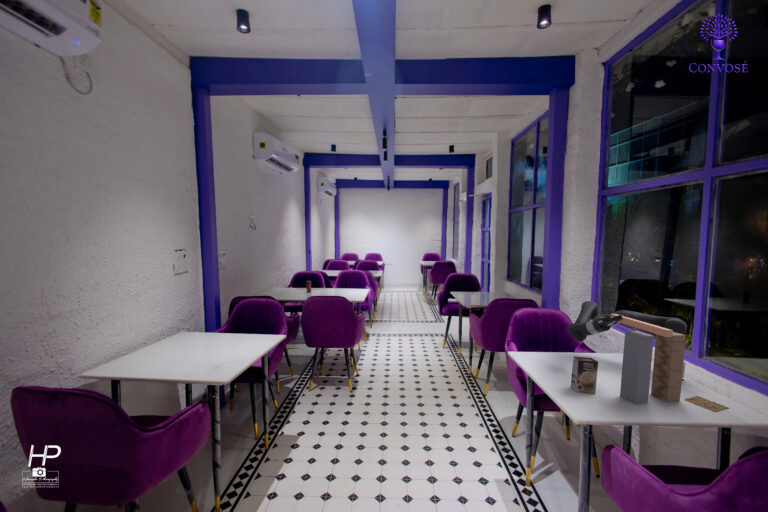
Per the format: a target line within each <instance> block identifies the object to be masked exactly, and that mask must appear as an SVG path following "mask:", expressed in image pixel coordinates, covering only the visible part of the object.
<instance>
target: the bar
mask: <svg viewBox="0 0 768 512" xmlns="http://www.w3.org/2000/svg"><path fill="white" fill-rule="evenodd" d="M610 314H611V313H610ZM615 316H618V314H611V316H610V317H615ZM622 318H623V319H622V320H619V321H616V322H619V323H623V324H626V325H629V326H628V327H631V326H632V328H636V329H639V330H642V331H645V332H648V333H652V334H654V335H656V334H658V335H661V336H664V337H672V331H673V330H670V329H667V328H663V327H660V326H656V325H653V324H649V323H646V322H642V321H639V320H635V319H632V318H628V317H625V316H622Z"/></svg>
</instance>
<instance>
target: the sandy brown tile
mask: <svg viewBox="0 0 768 512" xmlns="http://www.w3.org/2000/svg"><path fill="white" fill-rule="evenodd" d="M683 401H685V402H686V403H687V402H688V403H690V404H693V405H695V406H698V407H700V408H703V409H706V410H707V411H710V410H711V412H713V413H719V412H721V411H724V410H729V409H730V407H728V406H726V405H723V404H720V403H717V402H715V401H713V400H709V399H706V398H705V397H703V396H698V395H696V396H693V397H689V398H684V399H683Z"/></svg>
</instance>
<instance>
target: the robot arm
mask: <svg viewBox="0 0 768 512" xmlns="http://www.w3.org/2000/svg"><path fill="white" fill-rule="evenodd" d="M580 306H581V308H580V312H579V314H578V316H577V318H576V320H575V321H574V323H573V322H572V323H571V324H569V325H568V326H567V328H566V330H567V332H568V333H569V335H570V336H571V337H572V338H573V339H574V340H575V341H576V342H579V343H580V342H584V341H585V340H586V339H587V337H588V336H592V335H595V334H600V333H604V332H608V331H610V329H611V327H614V326H615V325H622V326H626V327H632V326H629V325H626V324H623V323H619V322H616V321H619V320H622V319H623V318H622V316H625V317H628V318H632V319H635V320H639V321H642V322H646V323H649V324H653V325H656V326H660V327H663V328H667V329H670V330H673V331H672V332H676V333H680V334H683V335H686V336H687V330H688V324H687V323H686V321H684V320H682V319H680V318H679V317H668V316H667V317H666V316H658V315H652V314H648V313H643V312H638V311H632V310H626V309H621V310H617V311H614V312H612V313H605V314H604V313H599V306H598V304H597V303H596V302H595V301H591V300H590V301H589V300H588V301H587V300H586V301H584V302H582V304H581V305H580ZM611 314H618V316H615V317H610V316H611ZM632 328H633V327H632ZM685 351H686V350H684V353H685ZM685 369H686V362H685V361H683V372H682V378H684V379H685Z"/></svg>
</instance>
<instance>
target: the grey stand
mask: <svg viewBox="0 0 768 512" xmlns="http://www.w3.org/2000/svg"><path fill="white" fill-rule="evenodd" d="M654 337H655V336H654V335H652V334H649V333H647V332H646V333H645V332H642V331H639V330H625V331H624V342H623V351H622V352H623V353H622V354H623V355H622V363H621V364H622V366H621V369H622V370H621V377H620V378H621V379H620V391H619V397H621V398H623V399H625V400H626V401H628V402H630V403H632V404H633V405H645V404H649V396H650V387H651V373H652V364H653V363H652V361H653V360H652V359H653V351H654Z"/></svg>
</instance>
